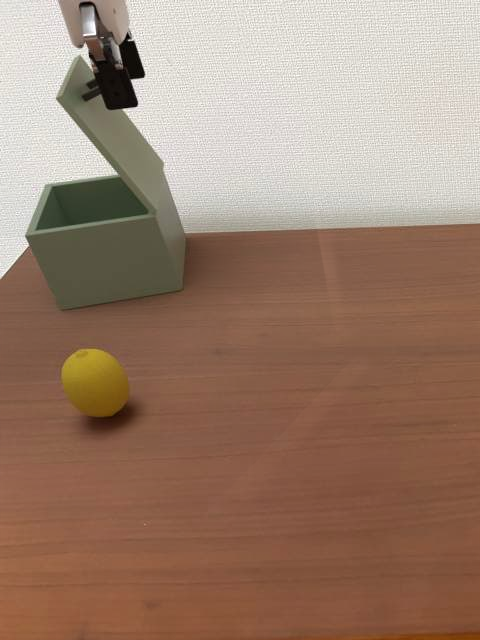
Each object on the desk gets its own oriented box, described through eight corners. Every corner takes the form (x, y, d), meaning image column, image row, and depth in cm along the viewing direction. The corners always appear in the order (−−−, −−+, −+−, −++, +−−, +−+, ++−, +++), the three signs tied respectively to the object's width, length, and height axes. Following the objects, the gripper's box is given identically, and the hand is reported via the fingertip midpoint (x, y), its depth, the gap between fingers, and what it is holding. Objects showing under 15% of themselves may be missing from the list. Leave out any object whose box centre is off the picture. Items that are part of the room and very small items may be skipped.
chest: (60, 310, 97) (24, 235, 91) (76, 254, 107) (45, 184, 101) (182, 290, 100) (155, 216, 94) (186, 238, 110) (162, 167, 104)
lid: (55, 98, 83) (98, 75, 83) (74, 57, 94) (112, 37, 93) (151, 214, 93) (189, 194, 93) (158, 166, 103) (193, 147, 103)
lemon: (69, 426, 81) (34, 361, 76) (110, 392, 85) (80, 329, 80) (112, 439, 79) (79, 374, 74) (152, 404, 83) (124, 340, 78)
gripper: (40, -96, 86) (100, 72, 97) (7, -64, 73) (81, 125, 84) (116, -101, 87) (167, 65, 98) (97, -71, 74) (158, 115, 85)
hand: (127, 92), depth 91 cm, fingers open, 9 cm apart
